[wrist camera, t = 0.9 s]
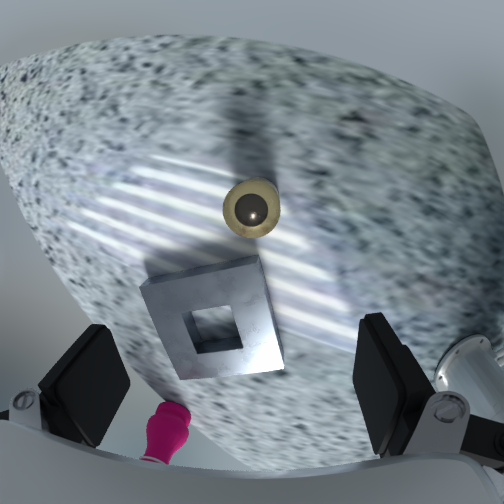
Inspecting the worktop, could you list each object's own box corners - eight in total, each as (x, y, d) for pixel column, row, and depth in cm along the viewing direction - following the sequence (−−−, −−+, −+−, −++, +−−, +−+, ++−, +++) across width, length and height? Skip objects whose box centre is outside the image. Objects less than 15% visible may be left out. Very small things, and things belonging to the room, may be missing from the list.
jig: (258, 254, 34) (257, 262, 31) (283, 354, 38) (284, 368, 35) (148, 278, 36) (139, 287, 34) (185, 367, 40) (180, 379, 38)
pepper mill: (166, 393, 43) (124, 487, 24) (201, 414, 44) (173, 510, 25) (149, 409, 45) (110, 493, 26) (182, 429, 46) (153, 514, 27)
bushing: (273, 172, 31) (272, 175, 23) (283, 213, 33) (286, 231, 24) (232, 182, 32) (216, 189, 23) (242, 223, 33) (230, 243, 25)
